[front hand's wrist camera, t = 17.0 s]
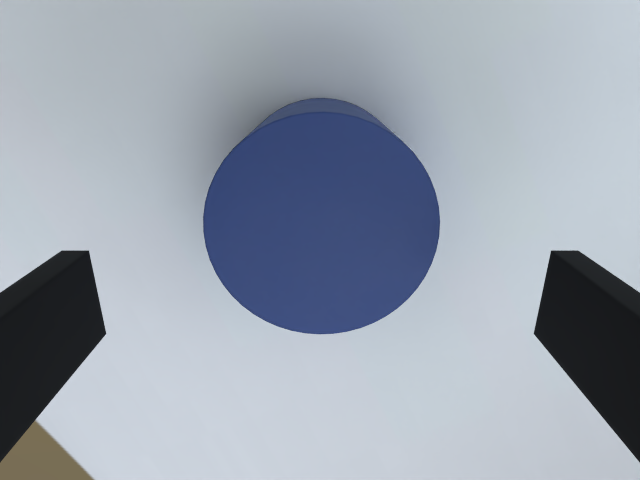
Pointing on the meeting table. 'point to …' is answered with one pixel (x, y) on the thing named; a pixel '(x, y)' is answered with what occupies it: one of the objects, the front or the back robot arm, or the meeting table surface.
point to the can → (321, 219)
